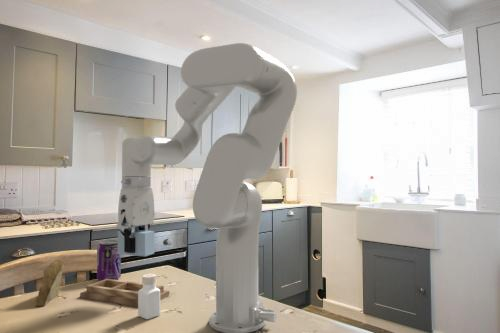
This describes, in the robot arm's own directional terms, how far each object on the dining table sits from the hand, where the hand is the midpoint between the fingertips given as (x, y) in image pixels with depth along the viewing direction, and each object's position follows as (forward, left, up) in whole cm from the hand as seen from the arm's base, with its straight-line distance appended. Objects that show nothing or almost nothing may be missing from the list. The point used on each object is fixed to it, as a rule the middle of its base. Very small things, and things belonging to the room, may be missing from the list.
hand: (135, 250), depth 98 cm
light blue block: (0, 0, -1) cm, 1 cm away
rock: (+22, +10, -13) cm, 27 cm away
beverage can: (+20, -11, -13) cm, 26 cm away
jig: (+4, 0, -13) cm, 13 cm away
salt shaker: (-11, +9, -13) cm, 20 cm away
